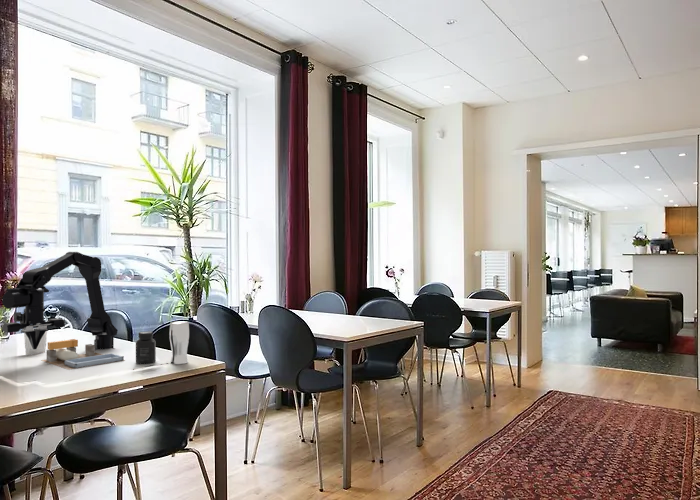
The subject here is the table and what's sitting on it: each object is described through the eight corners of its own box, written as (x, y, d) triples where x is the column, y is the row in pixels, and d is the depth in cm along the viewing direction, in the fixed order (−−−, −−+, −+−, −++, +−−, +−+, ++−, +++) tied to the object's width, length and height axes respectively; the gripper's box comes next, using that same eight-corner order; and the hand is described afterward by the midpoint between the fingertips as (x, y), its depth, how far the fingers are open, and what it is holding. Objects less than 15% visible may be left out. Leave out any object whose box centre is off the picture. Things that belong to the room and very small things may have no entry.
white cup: (36, 356, 207) (36, 331, 207) (19, 356, 208) (19, 330, 208) (51, 353, 214) (51, 328, 214) (34, 352, 216) (34, 327, 216)
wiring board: (95, 354, 211) (95, 342, 211) (125, 363, 196) (125, 349, 196) (40, 362, 195) (40, 349, 195) (68, 372, 180) (68, 357, 180)
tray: (111, 357, 201) (111, 353, 201) (123, 360, 196) (123, 356, 196) (64, 364, 188) (64, 360, 188) (75, 368, 182) (75, 363, 182)
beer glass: (172, 361, 199) (172, 321, 199) (190, 360, 200) (191, 321, 200) (167, 365, 192) (167, 323, 192) (186, 364, 193) (186, 323, 193)
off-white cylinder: (52, 359, 197) (52, 348, 197) (63, 357, 200) (64, 347, 200) (66, 363, 190) (66, 352, 190) (77, 362, 193) (78, 351, 193)
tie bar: (74, 345, 202) (74, 338, 202) (77, 346, 200) (77, 339, 200) (47, 349, 194) (47, 342, 194) (50, 350, 192) (50, 343, 192)
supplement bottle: (159, 363, 194) (159, 331, 194) (146, 367, 188) (147, 334, 188) (144, 362, 196) (144, 330, 197) (131, 366, 190) (131, 333, 190)
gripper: (53, 302, 202) (53, 343, 202) (-4, 306, 188) (-4, 350, 188) (65, 304, 195) (65, 346, 195) (8, 308, 181) (8, 354, 181)
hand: (34, 349), depth 190 cm, fingers closed
